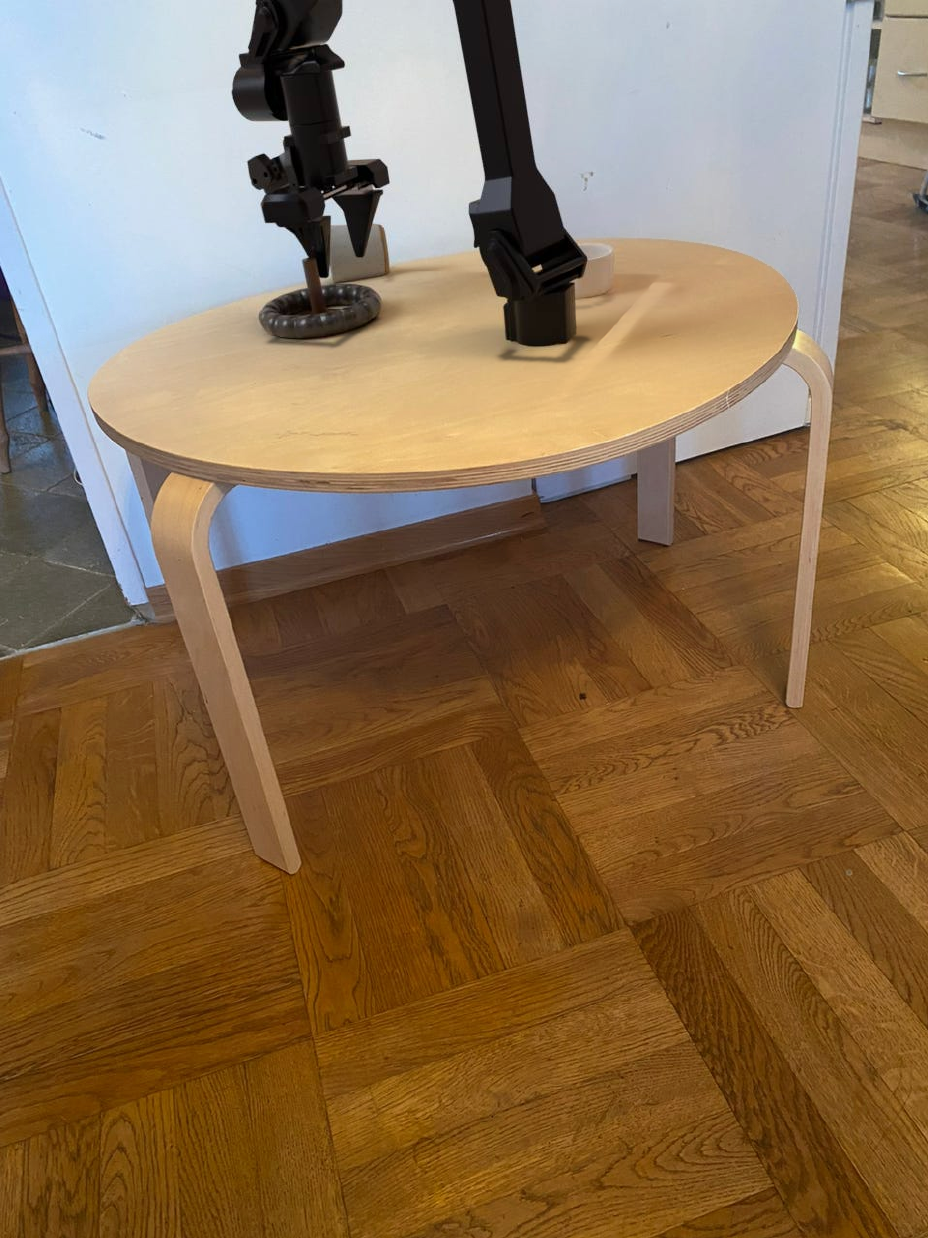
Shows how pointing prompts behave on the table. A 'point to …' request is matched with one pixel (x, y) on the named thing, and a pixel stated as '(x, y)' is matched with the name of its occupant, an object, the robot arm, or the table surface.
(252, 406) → the table surface
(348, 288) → the ring
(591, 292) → the teacup
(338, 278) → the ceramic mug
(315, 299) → the peg stand
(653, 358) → the table surface
